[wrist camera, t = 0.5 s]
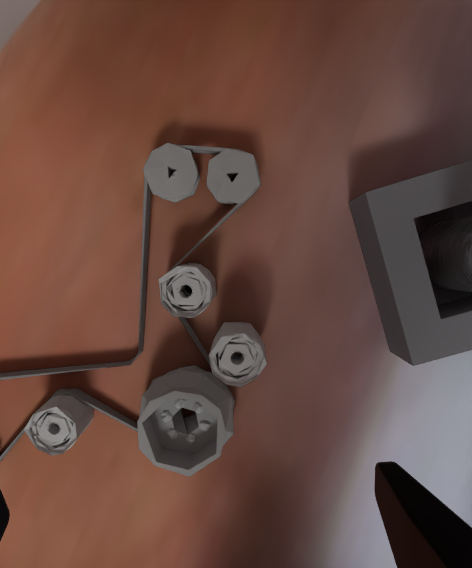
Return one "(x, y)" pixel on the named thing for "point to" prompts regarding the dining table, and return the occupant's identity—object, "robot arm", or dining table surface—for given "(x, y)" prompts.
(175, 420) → the pulley system
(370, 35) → the dining table surface
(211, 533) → the dining table surface
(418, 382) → the dining table surface
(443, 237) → the pin
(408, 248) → the pin socket
